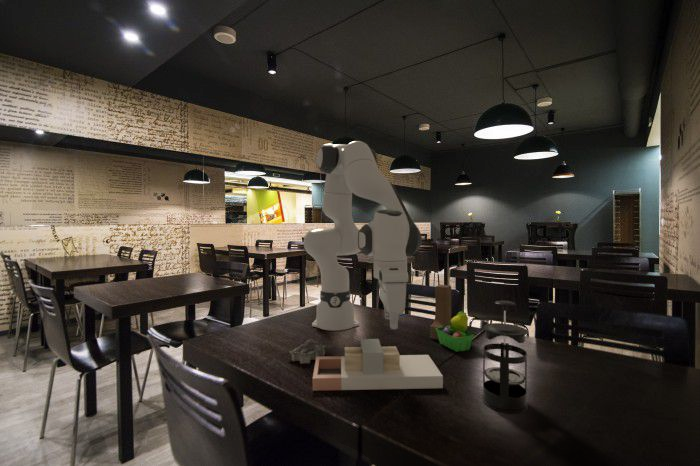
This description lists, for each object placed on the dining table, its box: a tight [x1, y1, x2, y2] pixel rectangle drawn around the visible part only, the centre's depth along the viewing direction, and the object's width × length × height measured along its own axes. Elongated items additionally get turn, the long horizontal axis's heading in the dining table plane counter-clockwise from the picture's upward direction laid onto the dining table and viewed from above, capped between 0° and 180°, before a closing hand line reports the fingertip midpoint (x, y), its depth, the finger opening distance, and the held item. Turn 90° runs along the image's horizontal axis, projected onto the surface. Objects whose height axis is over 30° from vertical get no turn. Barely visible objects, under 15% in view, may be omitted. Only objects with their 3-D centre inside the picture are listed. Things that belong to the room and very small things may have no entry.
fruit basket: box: [436, 311, 475, 353], centre depth 115 cm, size 11×9×11 cm
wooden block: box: [429, 284, 452, 341], centre depth 125 cm, size 9×4×18 cm, turn 142°
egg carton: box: [289, 338, 328, 364], centre depth 106 cm, size 11×8×4 cm
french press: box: [481, 300, 529, 415], centre depth 79 cm, size 12×9×23 cm
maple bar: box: [344, 345, 401, 371], centre depth 92 cm, size 6×14×4 cm, turn 92°
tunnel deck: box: [312, 338, 444, 392], centre depth 92 cm, size 14×32×8 cm, turn 92°
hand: (390, 323), depth 92 cm, fingers open, 8 cm apart
